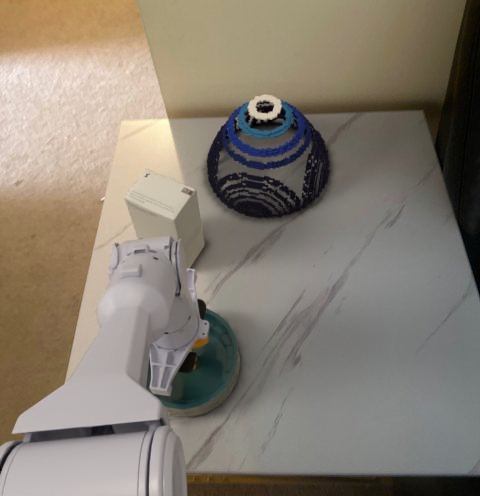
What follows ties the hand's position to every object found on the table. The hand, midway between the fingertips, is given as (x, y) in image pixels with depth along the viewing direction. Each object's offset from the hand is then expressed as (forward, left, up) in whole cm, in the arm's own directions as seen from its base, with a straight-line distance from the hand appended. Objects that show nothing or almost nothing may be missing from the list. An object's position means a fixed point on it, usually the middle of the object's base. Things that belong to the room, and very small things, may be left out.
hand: (185, 353), depth 71 cm
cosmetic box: (+17, +6, -4) cm, 19 cm away
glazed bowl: (0, 0, -4) cm, 4 cm away
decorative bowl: (+34, -6, -4) cm, 35 cm away
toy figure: (0, 0, -4) cm, 4 cm away
